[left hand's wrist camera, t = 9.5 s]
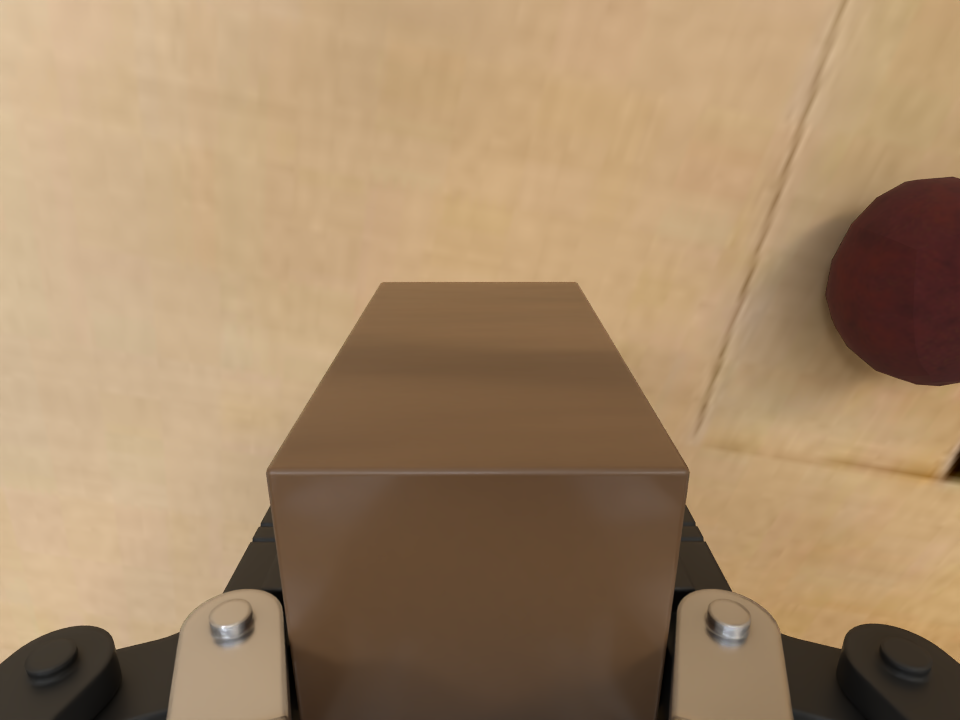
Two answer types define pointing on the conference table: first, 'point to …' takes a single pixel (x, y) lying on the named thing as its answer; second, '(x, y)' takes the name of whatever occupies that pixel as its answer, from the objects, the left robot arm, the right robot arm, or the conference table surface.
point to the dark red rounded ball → (903, 283)
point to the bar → (478, 515)
